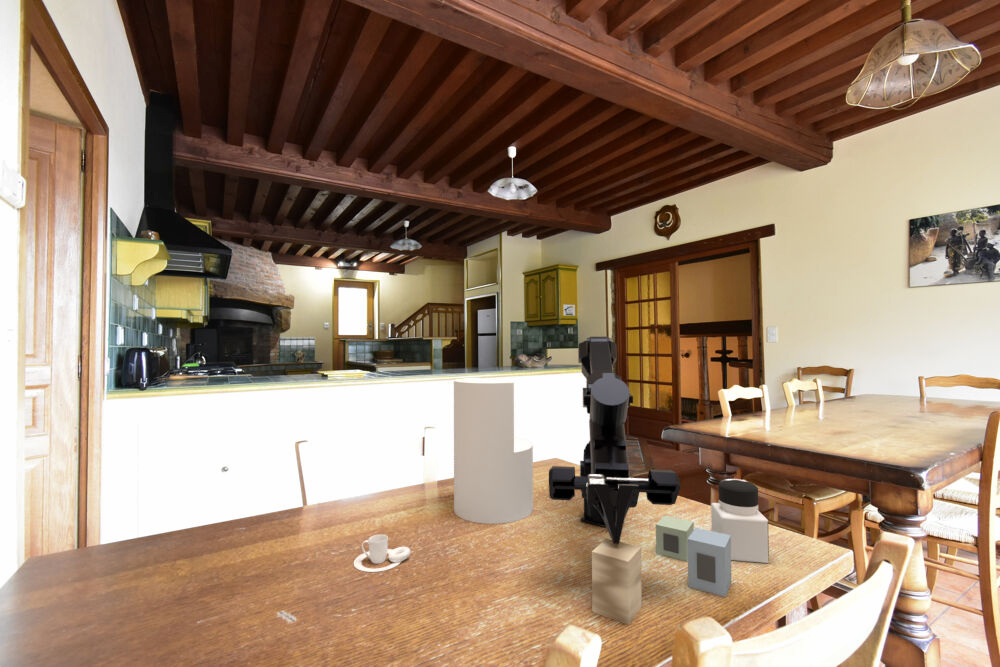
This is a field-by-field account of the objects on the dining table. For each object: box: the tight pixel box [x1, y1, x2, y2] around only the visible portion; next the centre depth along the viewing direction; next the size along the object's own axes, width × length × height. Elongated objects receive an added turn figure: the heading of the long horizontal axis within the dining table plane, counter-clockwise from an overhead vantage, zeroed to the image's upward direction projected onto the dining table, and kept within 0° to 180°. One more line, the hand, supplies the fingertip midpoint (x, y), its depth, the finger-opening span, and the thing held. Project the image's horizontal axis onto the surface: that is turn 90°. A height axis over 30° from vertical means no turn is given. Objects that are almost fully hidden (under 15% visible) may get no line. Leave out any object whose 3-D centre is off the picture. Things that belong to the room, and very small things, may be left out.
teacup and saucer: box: [353, 534, 411, 573], centre depth 75 cm, size 9×8×4 cm
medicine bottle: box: [710, 478, 770, 564], centre depth 78 cm, size 7×7×12 cm
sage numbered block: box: [655, 515, 695, 562], centre depth 78 cm, size 5×5×5 cm
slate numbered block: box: [687, 527, 732, 598], centre depth 68 cm, size 5×5×7 cm
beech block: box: [591, 538, 643, 626], centre depth 61 cm, size 5×5×8 cm
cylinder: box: [453, 377, 534, 525], centre depth 100 cm, size 17×17×28 cm
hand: (616, 542), depth 62 cm, fingers closed
